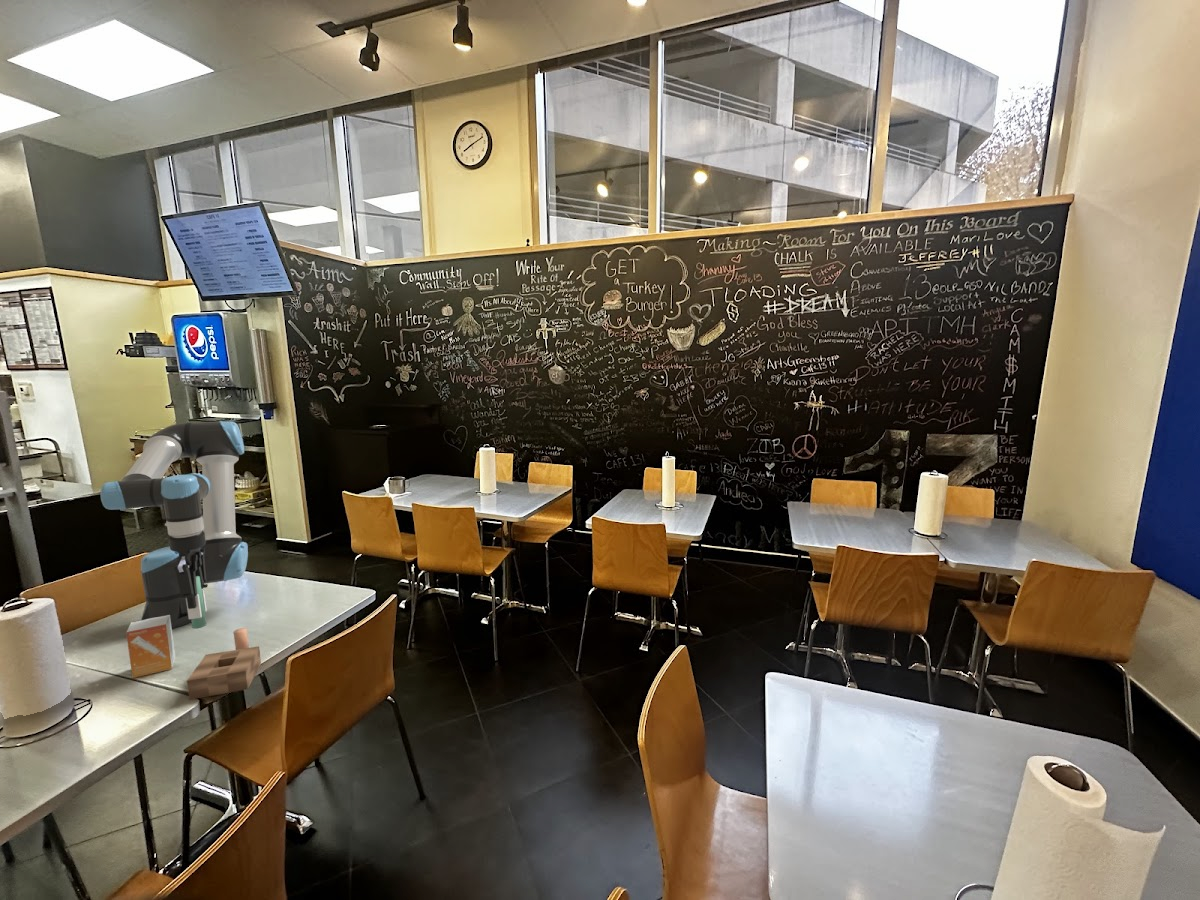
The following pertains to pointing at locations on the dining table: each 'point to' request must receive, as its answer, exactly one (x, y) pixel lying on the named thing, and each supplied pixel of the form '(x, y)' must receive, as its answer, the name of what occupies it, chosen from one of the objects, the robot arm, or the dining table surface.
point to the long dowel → (201, 621)
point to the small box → (150, 646)
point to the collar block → (224, 672)
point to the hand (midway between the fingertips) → (197, 614)
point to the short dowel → (241, 639)
